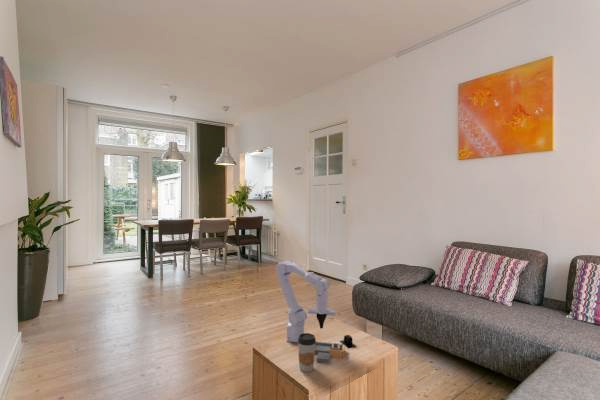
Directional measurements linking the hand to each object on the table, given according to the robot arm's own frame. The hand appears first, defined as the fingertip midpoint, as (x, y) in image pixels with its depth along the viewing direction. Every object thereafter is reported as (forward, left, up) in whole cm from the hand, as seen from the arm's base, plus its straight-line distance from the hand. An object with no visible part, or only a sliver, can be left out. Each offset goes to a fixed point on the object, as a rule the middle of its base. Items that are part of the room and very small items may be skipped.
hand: (321, 327), depth 168 cm
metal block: (+8, -5, -11) cm, 14 cm away
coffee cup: (-4, -23, -11) cm, 26 cm away
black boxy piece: (+14, +8, -11) cm, 19 cm away
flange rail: (+4, -5, -10) cm, 12 cm away
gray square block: (+3, -13, -10) cm, 17 cm away
